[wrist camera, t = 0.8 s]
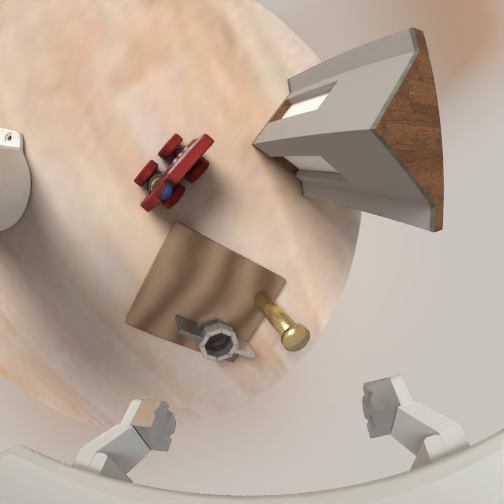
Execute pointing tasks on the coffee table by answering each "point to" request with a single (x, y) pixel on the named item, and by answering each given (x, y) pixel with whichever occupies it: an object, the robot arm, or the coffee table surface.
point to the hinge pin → (282, 323)
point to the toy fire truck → (173, 171)
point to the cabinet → (366, 131)
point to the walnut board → (200, 288)
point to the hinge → (209, 328)
